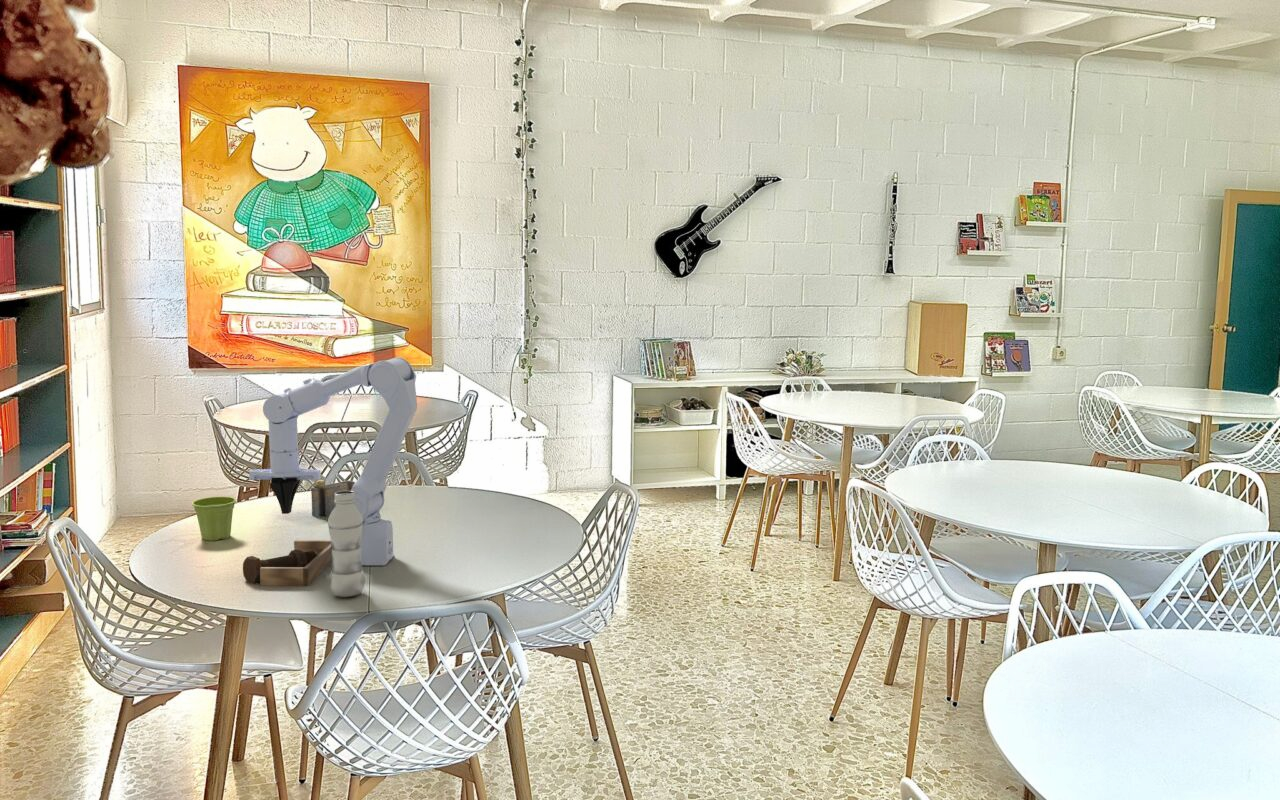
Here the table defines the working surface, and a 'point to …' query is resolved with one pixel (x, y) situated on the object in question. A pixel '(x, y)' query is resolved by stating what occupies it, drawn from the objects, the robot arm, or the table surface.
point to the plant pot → (214, 516)
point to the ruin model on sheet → (327, 496)
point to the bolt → (275, 563)
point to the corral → (299, 574)
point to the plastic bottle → (346, 546)
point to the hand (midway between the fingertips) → (286, 512)
